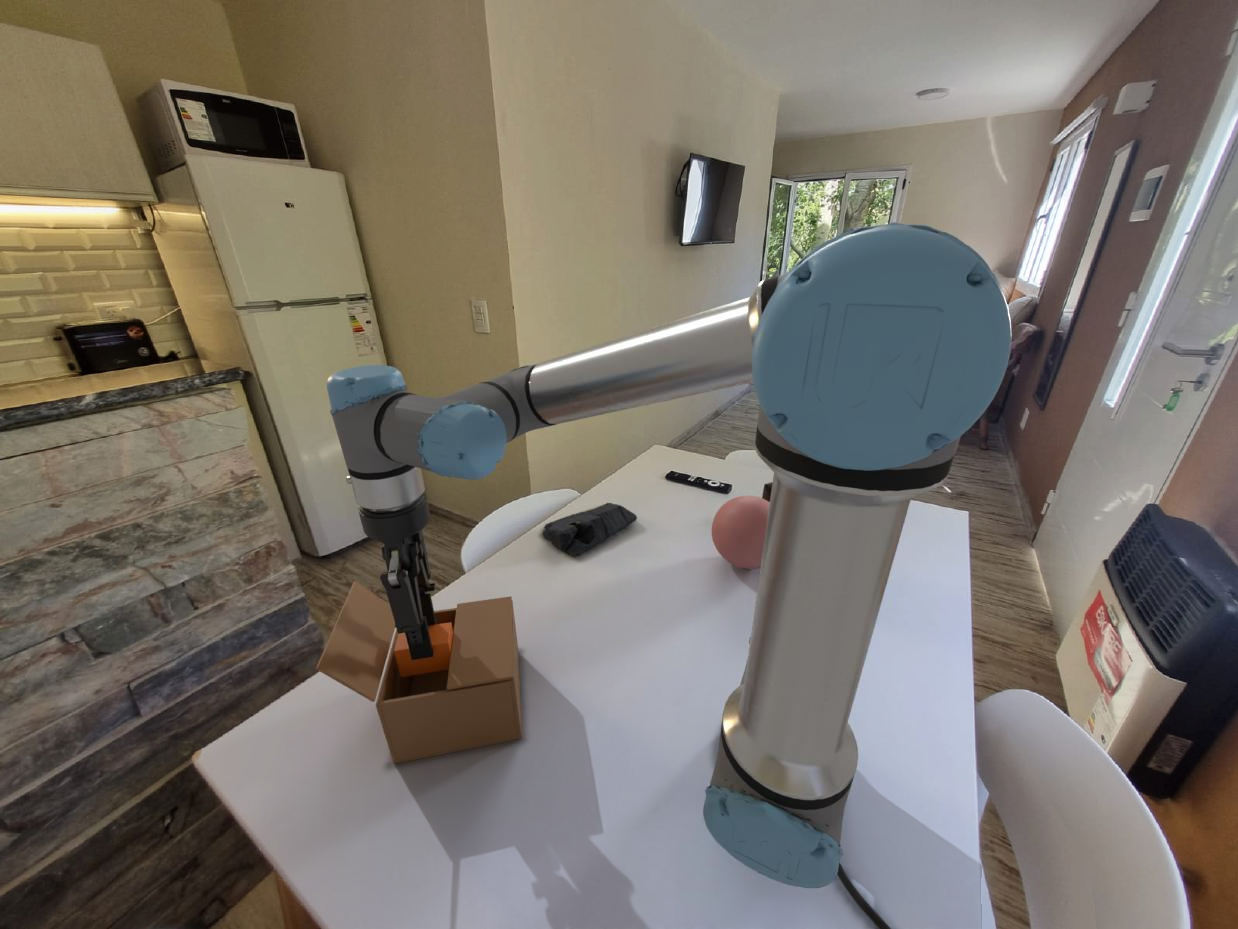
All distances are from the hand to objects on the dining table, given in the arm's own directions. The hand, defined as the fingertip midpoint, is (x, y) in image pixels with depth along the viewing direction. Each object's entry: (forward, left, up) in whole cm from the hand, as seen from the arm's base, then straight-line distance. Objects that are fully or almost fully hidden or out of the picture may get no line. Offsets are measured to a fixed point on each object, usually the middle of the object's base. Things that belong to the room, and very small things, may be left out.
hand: (425, 643), depth 67 cm
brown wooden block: (+44, -87, -13) cm, 98 cm away
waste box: (0, -4, -13) cm, 13 cm away
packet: (0, 0, -4) cm, 4 cm away
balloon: (+24, -64, -13) cm, 69 cm away
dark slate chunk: (+43, -31, -13) cm, 54 cm away
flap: (0, +7, +3) cm, 8 cm away
